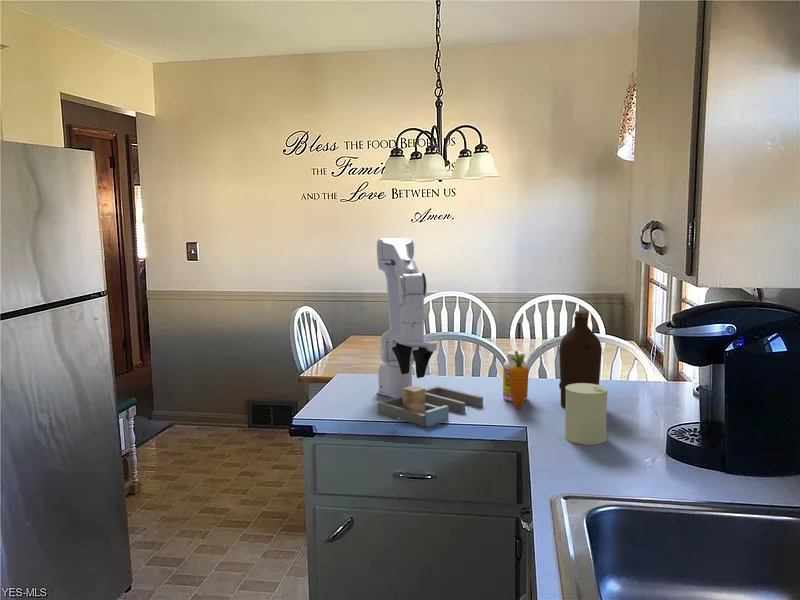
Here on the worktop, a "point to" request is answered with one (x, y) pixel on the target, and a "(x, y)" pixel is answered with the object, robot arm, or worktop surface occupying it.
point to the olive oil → (579, 355)
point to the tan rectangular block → (414, 399)
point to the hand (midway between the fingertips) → (412, 375)
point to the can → (585, 413)
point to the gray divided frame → (431, 406)
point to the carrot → (518, 380)
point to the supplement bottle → (506, 374)
